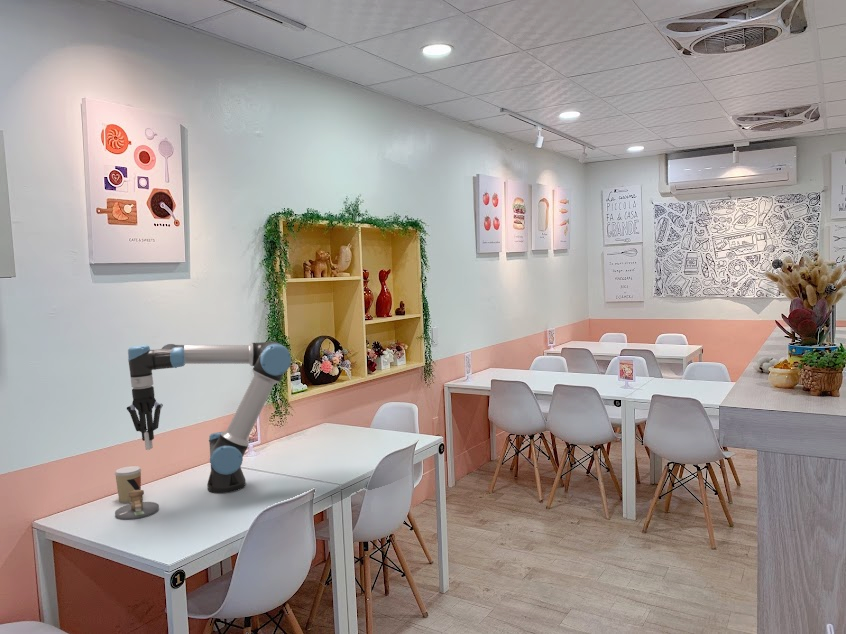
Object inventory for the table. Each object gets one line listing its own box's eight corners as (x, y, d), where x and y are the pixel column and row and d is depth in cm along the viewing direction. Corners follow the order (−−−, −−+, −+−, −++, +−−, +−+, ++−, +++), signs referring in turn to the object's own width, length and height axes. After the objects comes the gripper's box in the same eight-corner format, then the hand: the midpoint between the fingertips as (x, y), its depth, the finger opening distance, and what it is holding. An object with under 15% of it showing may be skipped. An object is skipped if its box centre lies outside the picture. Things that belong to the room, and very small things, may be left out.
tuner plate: (166, 504, 249) (165, 501, 249) (147, 519, 234) (146, 516, 234) (128, 504, 250) (128, 501, 250) (106, 520, 235) (106, 516, 235)
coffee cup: (132, 503, 251) (130, 473, 250) (111, 502, 253) (109, 472, 252) (147, 495, 260) (145, 466, 259) (127, 494, 262) (125, 465, 261)
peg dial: (129, 507, 243) (128, 491, 242) (144, 504, 245) (143, 488, 245) (131, 517, 232) (130, 501, 232) (146, 515, 235) (145, 498, 234)
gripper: (120, 390, 238) (127, 452, 240) (155, 387, 238) (162, 450, 240) (130, 386, 246) (136, 446, 248) (164, 383, 246) (170, 444, 248)
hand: (149, 448), depth 244 cm, fingers closed
